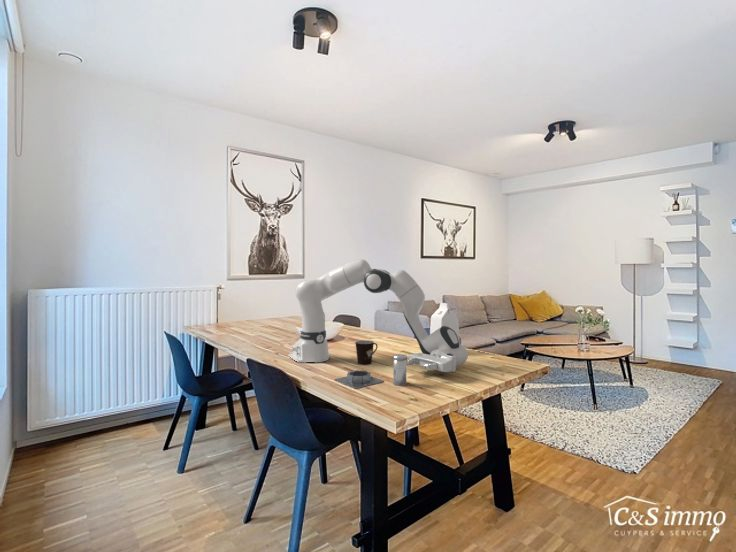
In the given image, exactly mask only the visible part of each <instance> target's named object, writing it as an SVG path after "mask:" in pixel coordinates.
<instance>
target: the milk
mask: <svg viewBox="0 0 736 552" xmlns="http://www.w3.org/2000/svg"><path fill="white" fill-rule="evenodd" d="M459 321H460V320H459V317H458V315H456V313H454V312H453V311H452V309H451V308H450V304H449V303H445V302H440V303H439V308H437V309H436V310H435V311H434V313H433V314H432V315H431V317H430V327H429V328H430V329H429V335H430V334H432V333H433V332H434V331H436V330H437V329H439V328H441V327H442V326H447V327H449V328H451V329H452V330H454V331H455V333H456V335H457V337H458V340H459V343H460V322H459ZM460 344H461V343H460Z"/></svg>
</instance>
